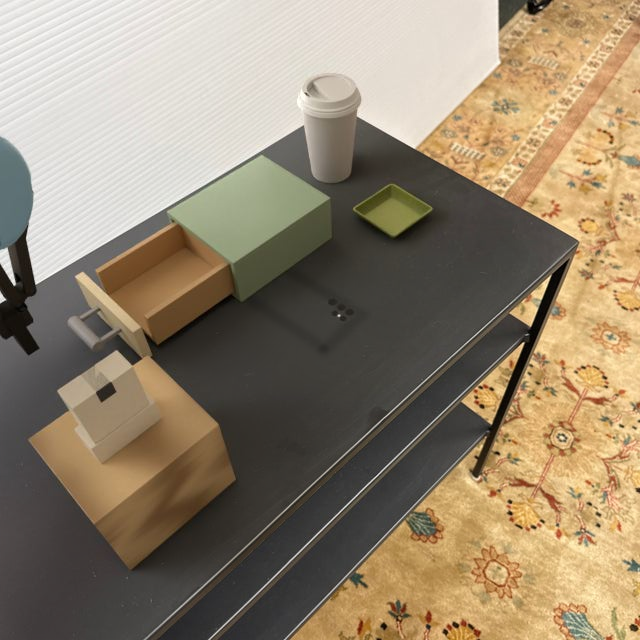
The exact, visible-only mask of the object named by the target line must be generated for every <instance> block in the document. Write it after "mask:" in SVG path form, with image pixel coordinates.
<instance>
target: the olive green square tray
mask: <svg viewBox="0 0 640 640" xmlns="http://www.w3.org/2000/svg"><path fill="white" fill-rule="evenodd" d="M352 210H353V212H354V213H355V214H356V215H357V216H359V217H360V218H361V219H363V220H364V221H366V222H368V223H370V224H371V225H372V226H374V227H375V228H377V229H378V230H379V231H382V233H385V234H386V235H387V236H389V237H391V238H392V239H394V238H396V237H398V236H399V235H400V234H402V233H403V232H405V231H406V230H408V229H409V228H411V227H412V226H413V225H415V224H417V223H418V222H419V221H421V220H422V219H423V218H425V217H426V216H427V215H429V214H430V213H431V212H432V211H433V210H434V208H433V207H432V206H431V205H429V204H428V203H426V202H424V201H423V200H422V199H420V198H418V197H416V196H414V194H411V193H409V192H408V191H406V190H405V189H403V188H402V187H400V186H399V185H396V184H395V183H390V184H387V185H386V186H384V187H383V188H382V189H380V190H378V191H377V192H375V193H374V194H373V195H370V196H369V197H367V198H366V199H365V200H363V201H361V202H360V203H358V204H357V205H355V206H354V207H352Z"/></svg>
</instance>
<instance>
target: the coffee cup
mask: <svg viewBox="0 0 640 640" xmlns="http://www.w3.org/2000/svg"><path fill="white" fill-rule="evenodd" d="M362 101H363V100H362V94H361V91H360V89H359V88H358V86H357V84H356V82H355V81H354V80H353V79H352V78H351V77H349V76H347V75H346V74H342V73H337V72H336V73H335V72H326V73H325V72H324V73H319V74H316V75H313V76H310V77H309V78H308V79H306V80H305V81H304V82H303V84H302V86H301V89H300V90H299V93H298V95H297V100H296V104H297V106H298V108H299V109H300V111H301V115H302V122H303V127H304V132H305V133H304V134H305V139H306V140H305V141H306V144H307V151H308V157H309V163H310V170H311V174H312V177H313V178H314V179H316V180H317V181H319V182H321V183H325V184H337V183H340V182H343V181H345V180H346V179H348V178H349V177H350V176H351V173H352V169H353V168H352V167H353V157H354V149H355V148H354V146H355V137H356V126H357V120H358V119H357V118H358V111H359V110H358V108H359V107H360V106H361V104H362Z"/></svg>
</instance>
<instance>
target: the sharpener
mask: <svg viewBox="0 0 640 640" xmlns="http://www.w3.org/2000/svg"><path fill="white" fill-rule="evenodd" d="M56 392H57V394H58V395H59V397H60V398H61V400H62V401H63V403H64V404H65V406H66V408H67V409H68V411H69V410H70V412H71V414H72V415H73V417H74V418H75V420H76V421H77V423H78V425H79V426H78V427H76V428H75V431H76V433H77V434H78V436H79V437H80V439H81V440H82V442H83V443H84V445H85V446H86V447H87V448H88V450H89V451H90V452H91V453H92V454H93V455H94V457H95V458H96V459H97V460H98V461H99V463H100V464H102V463H104V462H105V461H106V460H108V459H109V458H110V457H112V456H113V455H114V454H116V453H117V452H118V451H120V450H121V449H122V448H124V447H125V446H126V445H127V444H129V443H130V442H131V441H133V440H134V439H135V438H137V437H138V436H139V435H141V434H142V433H143V432H145V431H146V430H147V429H149V428H150V427H151V426H152V425H154V424H155V423H156V422H158V421H159V420H160V419H162V416H161V413H160V411H159V409H158V407H157V404H156V402H155V401H154V400H153V399H152V398H151V397H150V396H149V395H148V393H147V392H146V391H145V390H144V389H143V387H142V385H141V383H140V381H139V379H138V376H137V374H136V372H135V370H134V368H133V364H131V363H130V362H129V360H128V359H127V358H125V357H124V355H123V354H121V353H120V352H119V350H118V349H117V350H114V351H113V352H112V353H110V354H109V355H107V356H106V357H104V358H103V359H102V360H99V361H98V362H96V363H95V364H94V365H92V366H90V367H89V368H87V369H86V370H84V371H83V372H81V373H80V374H79V375H78V376H76V377H75V378H73V379H72V380H70V381H69V382H67V383H66V384H64V385H63V386H62V387H60V388H59V389H57V390H56Z"/></svg>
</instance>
